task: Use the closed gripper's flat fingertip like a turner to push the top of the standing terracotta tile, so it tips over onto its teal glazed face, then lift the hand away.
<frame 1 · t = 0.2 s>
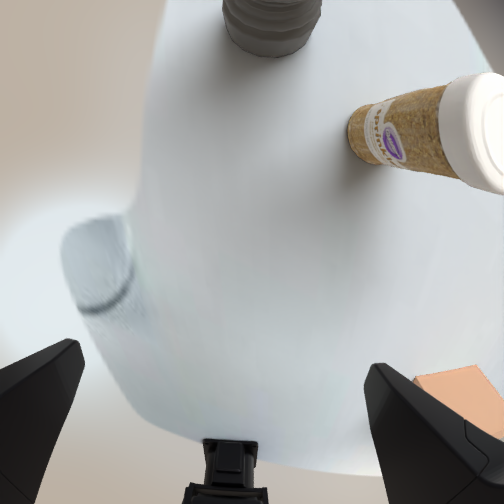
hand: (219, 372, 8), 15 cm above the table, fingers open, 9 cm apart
tile: (465, 406, 22), point 5 cm above the table
candle holder: (269, 22, 17), on the table
sprinkles bottle: (373, 134, 19), on the table
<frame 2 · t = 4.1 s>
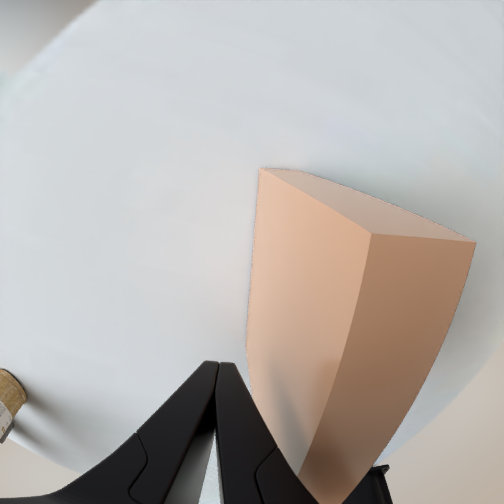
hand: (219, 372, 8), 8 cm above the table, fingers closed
tile: (294, 328, 10), point 6 cm above the table, tilted 6°, touching gripper
sprinkles bottle: (12, 383, 20), on the table
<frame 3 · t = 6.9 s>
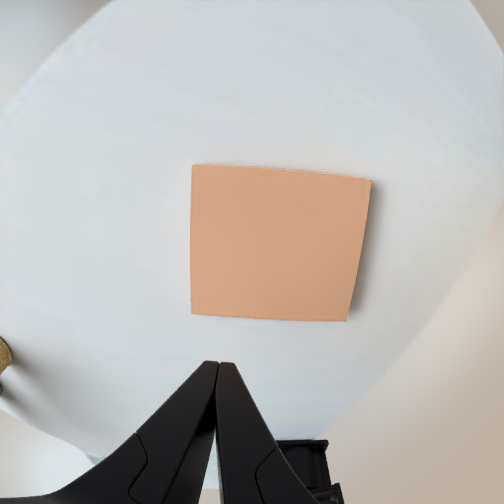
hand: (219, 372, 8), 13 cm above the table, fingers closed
tile: (276, 245, 20), point 1 cm above the table, tilted 90°
sprinkles bottle: (1, 347, 25), on the table
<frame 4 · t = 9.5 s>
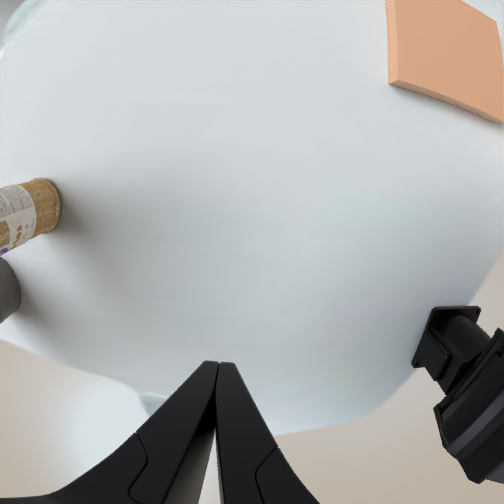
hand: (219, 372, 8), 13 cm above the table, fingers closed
tile: (450, 45, 14), point 1 cm above the table, tilted 90°
candle holder: (2, 282, 22), on the table
sprinkles bottle: (44, 203, 19), on the table
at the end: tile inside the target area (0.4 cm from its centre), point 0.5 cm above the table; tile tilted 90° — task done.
